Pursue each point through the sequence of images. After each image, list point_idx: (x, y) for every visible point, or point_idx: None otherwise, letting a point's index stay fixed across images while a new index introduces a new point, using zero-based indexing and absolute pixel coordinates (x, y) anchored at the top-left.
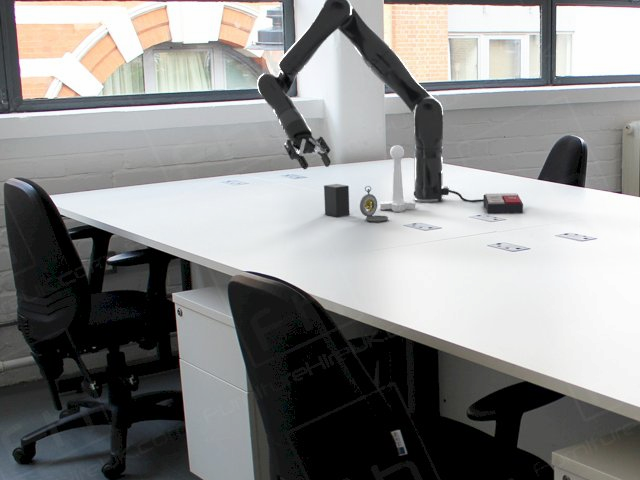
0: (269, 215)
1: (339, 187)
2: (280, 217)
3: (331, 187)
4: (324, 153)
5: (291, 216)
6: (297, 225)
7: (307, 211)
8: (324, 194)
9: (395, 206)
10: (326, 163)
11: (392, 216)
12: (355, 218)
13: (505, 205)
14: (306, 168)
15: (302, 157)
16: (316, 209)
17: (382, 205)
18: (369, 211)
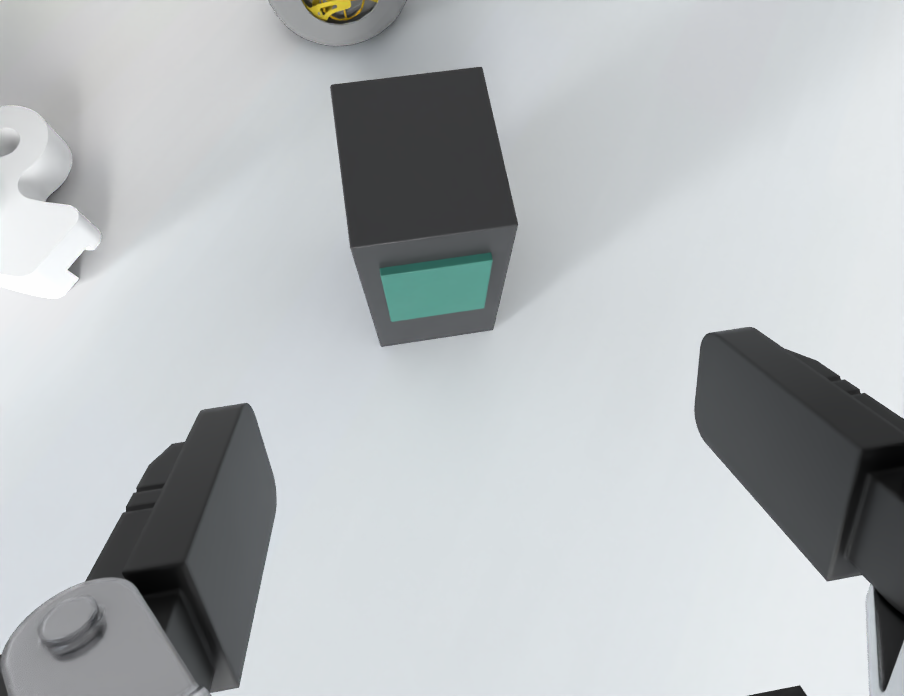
0: None
1: (438, 75)
2: None
3: (494, 122)
4: (138, 596)
5: None
6: (784, 118)
7: (542, 538)
8: (507, 263)
9: (51, 128)
10: (258, 475)
11: (187, 59)
12: None
13: None
14: (703, 394)
15: (876, 419)
16: (439, 584)
17: (80, 213)
18: (338, 18)
